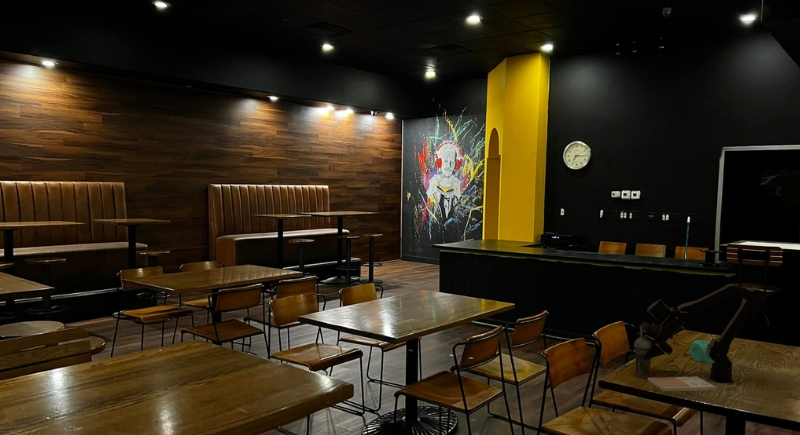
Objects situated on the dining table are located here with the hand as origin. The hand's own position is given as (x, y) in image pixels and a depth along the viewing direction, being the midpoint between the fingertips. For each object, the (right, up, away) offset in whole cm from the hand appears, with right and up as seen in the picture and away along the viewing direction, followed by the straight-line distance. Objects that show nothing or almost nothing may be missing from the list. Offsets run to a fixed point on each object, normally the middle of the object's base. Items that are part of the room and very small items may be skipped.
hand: (639, 356), depth 231 cm
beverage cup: (+1, -8, 0) cm, 8 cm away
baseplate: (+11, -8, -11) cm, 18 cm away
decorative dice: (+37, -7, +22) cm, 44 cm away
